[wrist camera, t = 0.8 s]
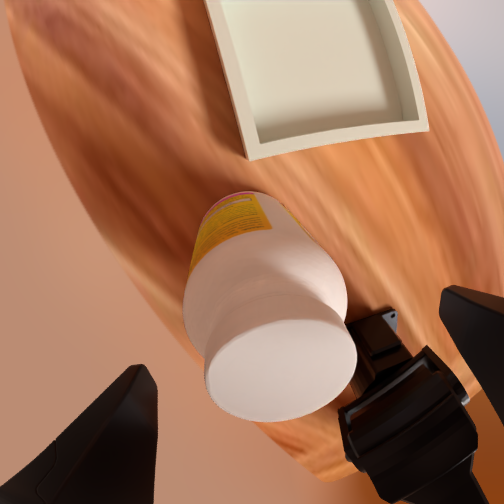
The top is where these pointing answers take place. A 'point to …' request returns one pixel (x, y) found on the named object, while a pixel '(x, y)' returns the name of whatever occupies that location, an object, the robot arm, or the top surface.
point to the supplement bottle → (266, 312)
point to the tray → (316, 72)
